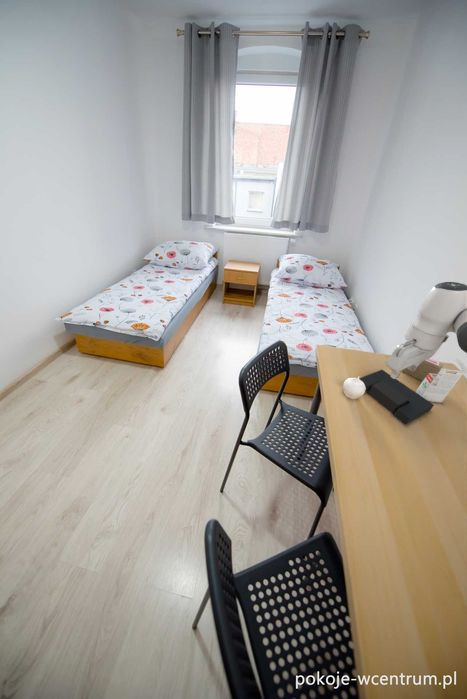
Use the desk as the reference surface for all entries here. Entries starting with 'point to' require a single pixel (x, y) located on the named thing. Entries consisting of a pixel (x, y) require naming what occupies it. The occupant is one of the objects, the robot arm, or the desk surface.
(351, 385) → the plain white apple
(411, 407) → the big pad
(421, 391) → the ink box
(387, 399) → the small pad
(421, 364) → the ink box
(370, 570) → the desk surface
